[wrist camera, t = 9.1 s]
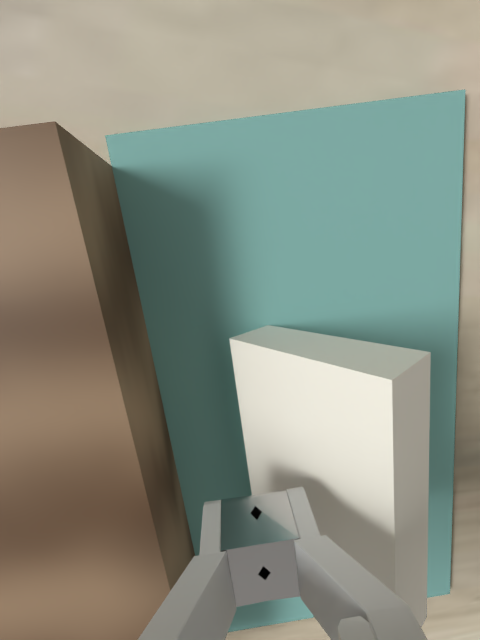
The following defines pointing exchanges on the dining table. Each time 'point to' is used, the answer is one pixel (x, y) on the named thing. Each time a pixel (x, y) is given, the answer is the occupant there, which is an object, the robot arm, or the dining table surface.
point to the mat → (296, 271)
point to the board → (77, 407)
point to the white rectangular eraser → (344, 443)
